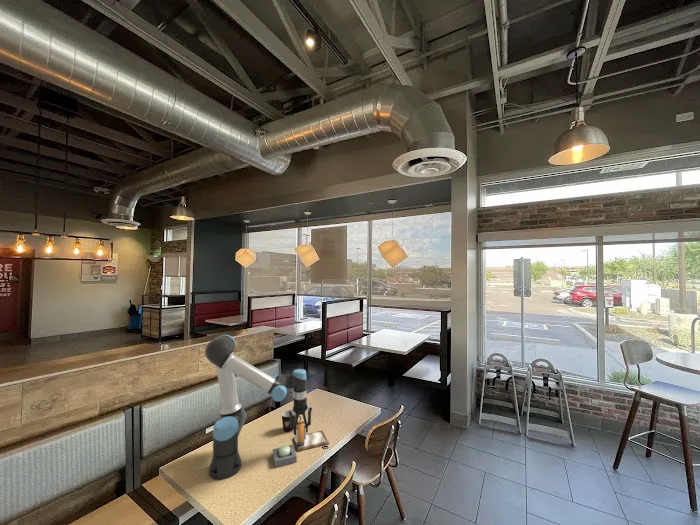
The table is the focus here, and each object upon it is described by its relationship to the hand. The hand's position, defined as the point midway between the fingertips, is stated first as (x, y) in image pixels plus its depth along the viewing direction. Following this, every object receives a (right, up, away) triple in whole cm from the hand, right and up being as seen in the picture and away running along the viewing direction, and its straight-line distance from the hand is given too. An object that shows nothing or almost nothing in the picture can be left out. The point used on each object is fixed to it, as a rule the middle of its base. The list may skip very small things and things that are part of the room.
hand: (300, 439), depth 164 cm
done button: (-7, -2, -10) cm, 13 cm away
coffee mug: (-10, -5, +18) cm, 21 cm away
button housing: (-7, -4, -10) cm, 13 cm away
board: (+5, -4, +5) cm, 8 cm away
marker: (0, -3, 0) cm, 3 cm away
